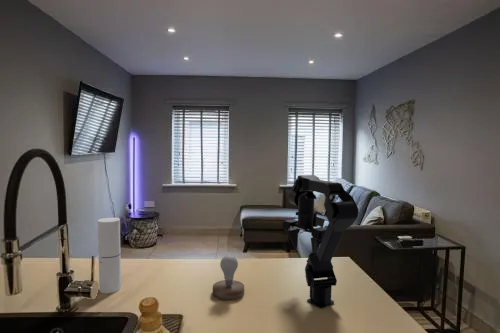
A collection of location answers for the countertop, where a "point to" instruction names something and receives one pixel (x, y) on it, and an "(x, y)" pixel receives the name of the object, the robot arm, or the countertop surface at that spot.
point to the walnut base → (228, 290)
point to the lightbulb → (229, 268)
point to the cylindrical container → (109, 255)
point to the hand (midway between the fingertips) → (304, 251)
